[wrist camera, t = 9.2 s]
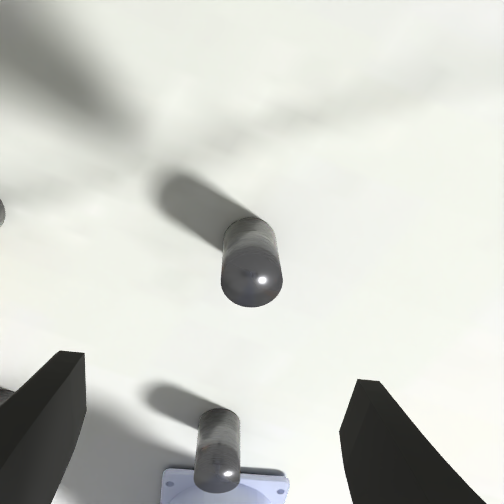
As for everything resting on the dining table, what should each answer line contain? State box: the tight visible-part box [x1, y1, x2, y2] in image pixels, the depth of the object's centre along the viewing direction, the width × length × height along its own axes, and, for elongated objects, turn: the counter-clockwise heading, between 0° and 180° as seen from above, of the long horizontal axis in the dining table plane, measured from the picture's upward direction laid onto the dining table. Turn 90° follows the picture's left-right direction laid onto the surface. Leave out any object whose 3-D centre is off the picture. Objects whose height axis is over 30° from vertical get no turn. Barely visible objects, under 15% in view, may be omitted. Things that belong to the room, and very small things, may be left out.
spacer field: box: [0, 200, 283, 493], centre depth 21 cm, size 14×14×4 cm
